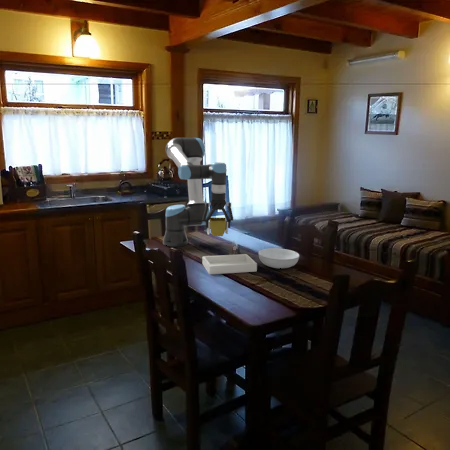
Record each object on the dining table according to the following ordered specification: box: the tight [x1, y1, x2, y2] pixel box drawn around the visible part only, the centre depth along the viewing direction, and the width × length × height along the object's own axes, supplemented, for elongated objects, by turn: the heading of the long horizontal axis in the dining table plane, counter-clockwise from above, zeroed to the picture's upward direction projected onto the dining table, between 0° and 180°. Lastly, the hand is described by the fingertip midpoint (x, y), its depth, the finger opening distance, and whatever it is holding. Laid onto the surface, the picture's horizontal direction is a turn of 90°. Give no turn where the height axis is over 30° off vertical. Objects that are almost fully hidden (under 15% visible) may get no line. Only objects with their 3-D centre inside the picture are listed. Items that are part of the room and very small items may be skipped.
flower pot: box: [209, 217, 227, 237], centre depth 229 cm, size 9×9×9 cm
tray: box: [201, 253, 258, 275], centre depth 217 cm, size 17×24×4 cm
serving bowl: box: [258, 247, 300, 269], centre depth 221 cm, size 21×21×7 cm
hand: (217, 233), depth 230 cm, fingers closed on flower pot, 9 cm apart
